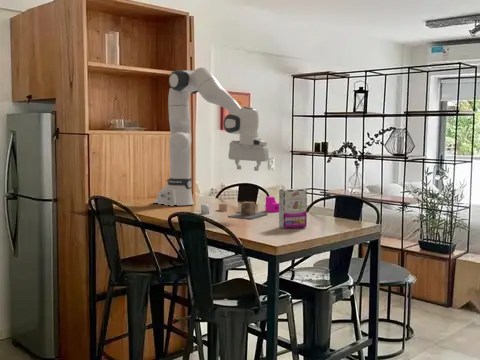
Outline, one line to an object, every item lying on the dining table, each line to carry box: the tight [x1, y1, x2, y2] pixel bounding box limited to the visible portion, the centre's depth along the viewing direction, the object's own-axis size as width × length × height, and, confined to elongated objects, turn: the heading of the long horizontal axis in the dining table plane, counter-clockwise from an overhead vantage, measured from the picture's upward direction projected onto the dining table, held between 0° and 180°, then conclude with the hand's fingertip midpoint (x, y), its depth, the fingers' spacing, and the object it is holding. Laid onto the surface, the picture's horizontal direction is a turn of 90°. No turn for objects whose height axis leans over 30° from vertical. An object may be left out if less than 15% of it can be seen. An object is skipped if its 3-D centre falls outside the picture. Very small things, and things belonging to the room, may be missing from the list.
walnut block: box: [240, 201, 256, 216], centre depth 260 cm, size 5×5×6 cm
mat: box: [227, 211, 268, 221], centre depth 260 cm, size 12×18×1 cm, turn 152°
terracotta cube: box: [218, 202, 228, 212], centre depth 277 cm, size 4×4×4 cm
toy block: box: [265, 196, 279, 213], centre depth 282 cm, size 15×6×8 cm, turn 127°
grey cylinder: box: [200, 203, 210, 215], centre depth 264 cm, size 4×4×5 cm
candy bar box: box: [278, 187, 308, 230], centre depth 231 cm, size 11×5×16 cm, turn 114°
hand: (247, 170), depth 261 cm, fingers open, 8 cm apart
